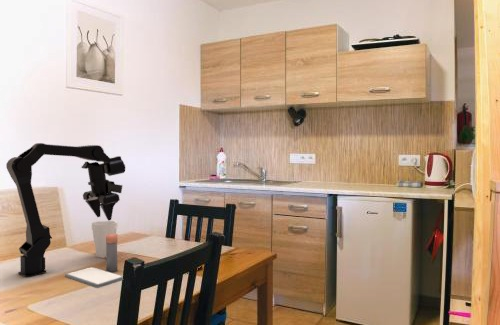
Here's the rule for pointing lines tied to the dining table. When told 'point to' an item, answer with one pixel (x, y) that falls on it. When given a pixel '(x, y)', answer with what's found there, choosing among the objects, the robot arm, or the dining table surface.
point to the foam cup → (102, 235)
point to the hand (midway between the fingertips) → (104, 218)
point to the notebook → (94, 277)
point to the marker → (111, 252)
